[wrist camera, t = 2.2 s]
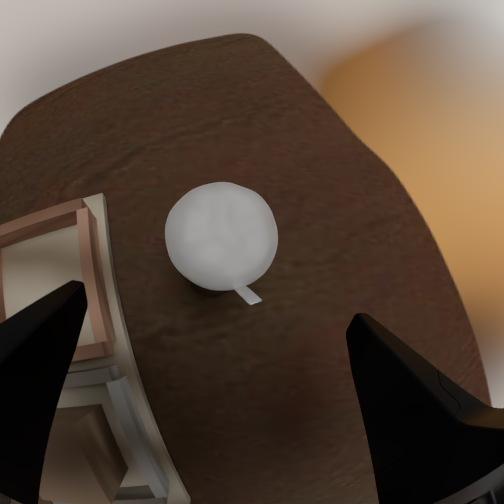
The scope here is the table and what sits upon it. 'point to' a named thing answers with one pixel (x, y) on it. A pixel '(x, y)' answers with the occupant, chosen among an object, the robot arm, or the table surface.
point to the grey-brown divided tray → (89, 364)
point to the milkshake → (221, 239)
